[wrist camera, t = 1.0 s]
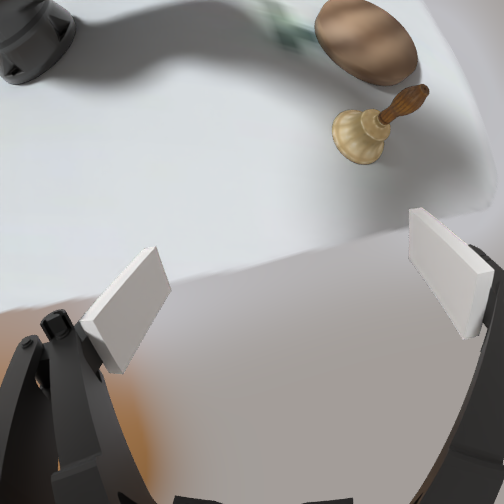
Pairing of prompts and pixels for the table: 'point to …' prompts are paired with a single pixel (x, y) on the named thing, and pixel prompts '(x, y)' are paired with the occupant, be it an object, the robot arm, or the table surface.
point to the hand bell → (373, 125)
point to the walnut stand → (366, 41)
